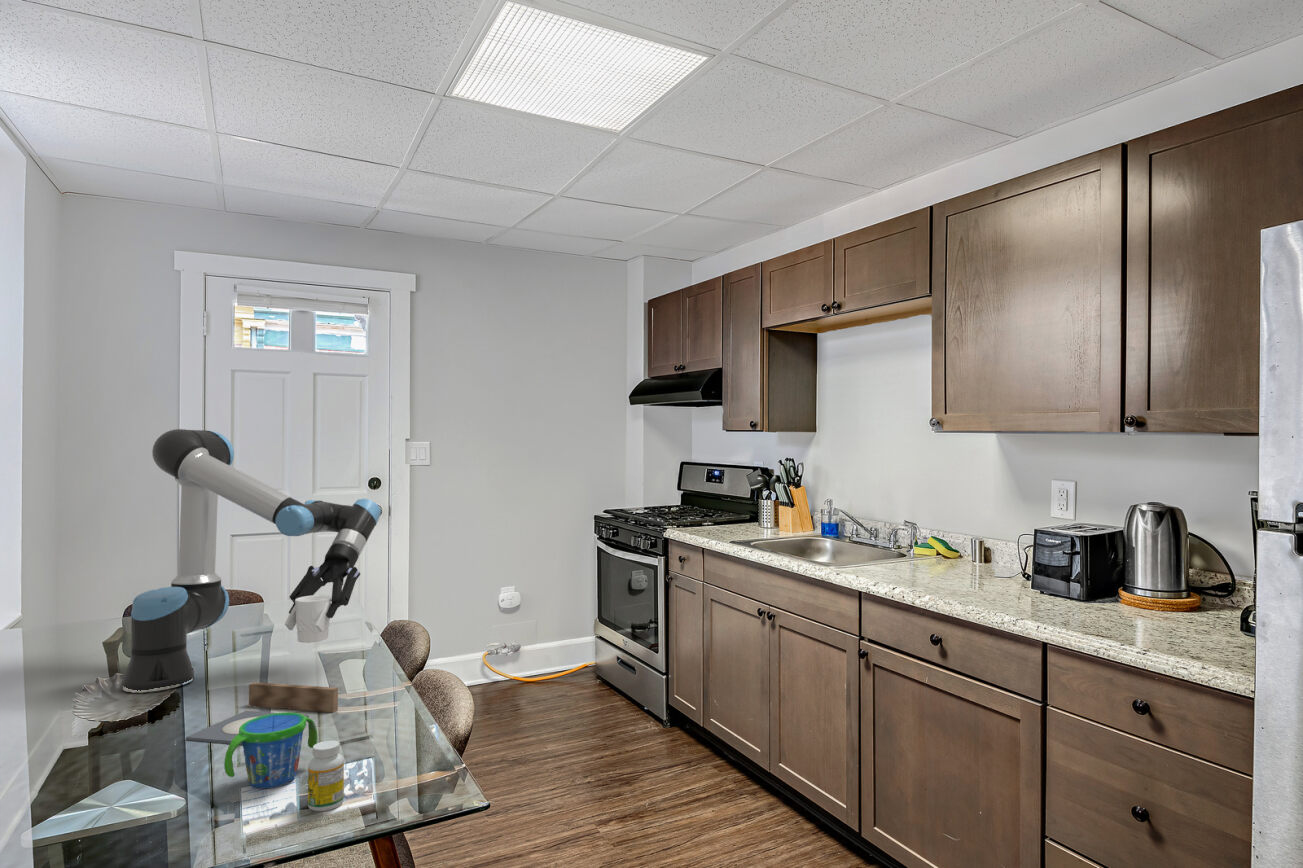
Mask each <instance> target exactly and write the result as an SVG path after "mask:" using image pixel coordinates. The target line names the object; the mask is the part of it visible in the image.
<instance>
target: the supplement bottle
mask: <svg viewBox="0 0 1303 868" xmlns="http://www.w3.org/2000/svg"><path fill="white" fill-rule="evenodd" d="M340 747H341V746H340V742H339V741H337V740H324V741H321V742H317V744H315V745H314V746H313V748H312V756H313V758H311V759H310V760H309V762H308V765H307V775H308V776H307V807H308V809H309V810H311V811H313V812H327V811H331V810H334V809H336V808H338V807H340V806H341V805H342V804H343V803H344V800H345V798H344V797H345V792H344V791H345V789H344V788H345V786H344V785H345V780H344V779H345V771H344V770H345V759H344V757H343V755H342V754H340Z"/></svg>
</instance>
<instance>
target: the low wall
mask: <svg viewBox="0 0 1303 868" xmlns="http://www.w3.org/2000/svg"><path fill="white" fill-rule="evenodd" d="M249 705H250V706H249ZM338 705H339V688H338V687H332V686H331V687H330V686H320V685H319V686H315V685H300V684H286V683H270V682H269V683H268V682H258V681H256V682H255V681H254V682H251V683H249V684H248V706H249V707H253V706H256V707H255V708H265V709H266V708H267V709H280V708H288V709H287V710H293V709H295V711H306V712H307V711H309V712H323V713H333V712H334V713H335V712H337V711H338V710H339V708H338V707H339V706H338ZM289 708H290V709H289Z"/></svg>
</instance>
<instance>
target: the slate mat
mask: <svg viewBox="0 0 1303 868" xmlns="http://www.w3.org/2000/svg"><path fill="white" fill-rule="evenodd" d="M275 713H276V712H268V711H256V710H245V711H242V712H240V713H237V714H235V715H233V716H231V717H228V718H225V719H224V720H222V721H219V722H216V723H215V724H212V725H210V726H208V727H206V728H204V729H201V730H199V731H196V732H194V733H193V734H190V735H188V736H186V737H185V741H193V742H201V743H202V742H203V743H204V742H205V743H214V744H215V743H216V744H217V743H218V744H228V745H230V743H231V741H232V739H234V738H235V737H236V736H237V735H238V734H239V728H240V726H241V725H242V724H244V723H245V722H247V721H249V720H251V719H254V718H257V717H260V716H264V715H269V714H275ZM303 715H304V716H305V717H308V718H310V715H309V714H303ZM238 746H242V743H240V744H239V745H238Z"/></svg>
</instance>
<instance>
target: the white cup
mask: <svg viewBox="0 0 1303 868" xmlns="http://www.w3.org/2000/svg"><path fill="white" fill-rule="evenodd" d="M330 599H332V596H330V595H326V594H314V595H312V596H304V597H300V598H297V599H295V608H296V632H297V633H296V635H297V642H299V643H303V644H305V643H306V644H308V643H309V644H310V643H318V642H319V643H320V642H322V641H325V640H327V639H329V633H330V632H329V631H330V629H329V627H330V619H331V618H330V619H329V621H328V623H327V625H326V627H325V629H324V631H323V632H320V631H319V630H318V628H317V627H316V626H315V625H316V623H317V621H318V619H319V617H320V615H321V613H322V611H323V609H324V608H325V606H326V604H327V603H328V602H330V603H332V602H331V600H330Z"/></svg>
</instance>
